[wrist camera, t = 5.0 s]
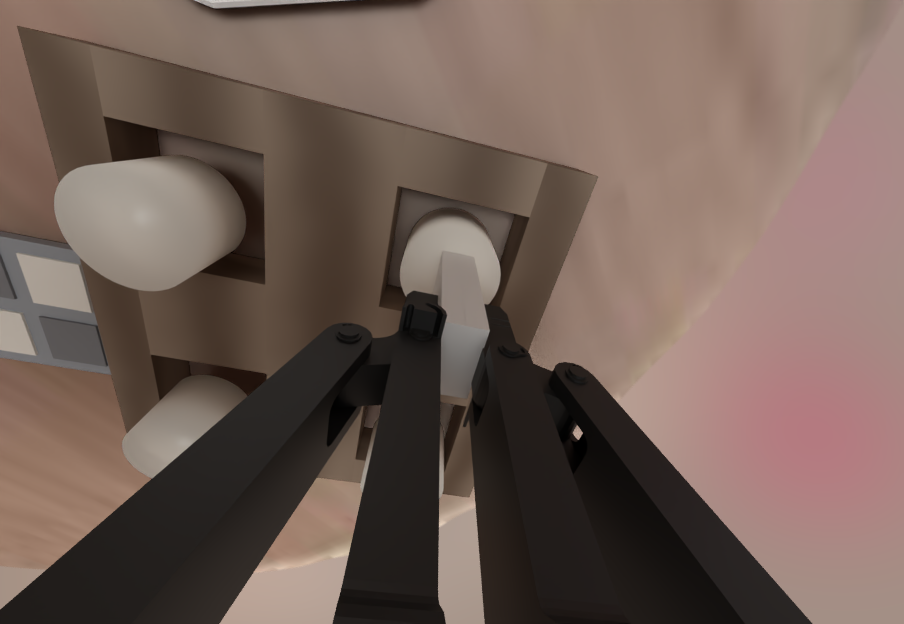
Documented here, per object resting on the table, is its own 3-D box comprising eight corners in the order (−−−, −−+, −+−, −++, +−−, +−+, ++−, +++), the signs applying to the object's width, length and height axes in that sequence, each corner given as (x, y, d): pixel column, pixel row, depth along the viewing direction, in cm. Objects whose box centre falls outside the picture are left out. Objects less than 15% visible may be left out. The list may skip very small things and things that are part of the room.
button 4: (401, 279, 21) (392, 310, 18) (415, 198, 19) (409, 216, 16) (478, 295, 22) (485, 328, 18) (501, 218, 20) (513, 240, 16)
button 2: (147, 246, 18) (73, 277, 14) (129, 142, 15) (36, 149, 12) (247, 266, 18) (200, 301, 15) (244, 169, 16) (188, 183, 13)
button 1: (178, 425, 23) (131, 479, 20) (168, 368, 21) (113, 417, 18) (254, 436, 24) (221, 491, 20) (252, 382, 22) (215, 432, 18)
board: (162, 420, 27) (132, 453, 25) (86, 41, 16) (16, 25, 14) (466, 464, 30) (469, 497, 28) (577, 168, 19) (598, 176, 17)
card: (-16, 348, 24) (-29, 354, 23) (-77, 216, 20) (-95, 219, 19) (130, 371, 25) (121, 378, 24) (101, 250, 21) (90, 254, 20)
